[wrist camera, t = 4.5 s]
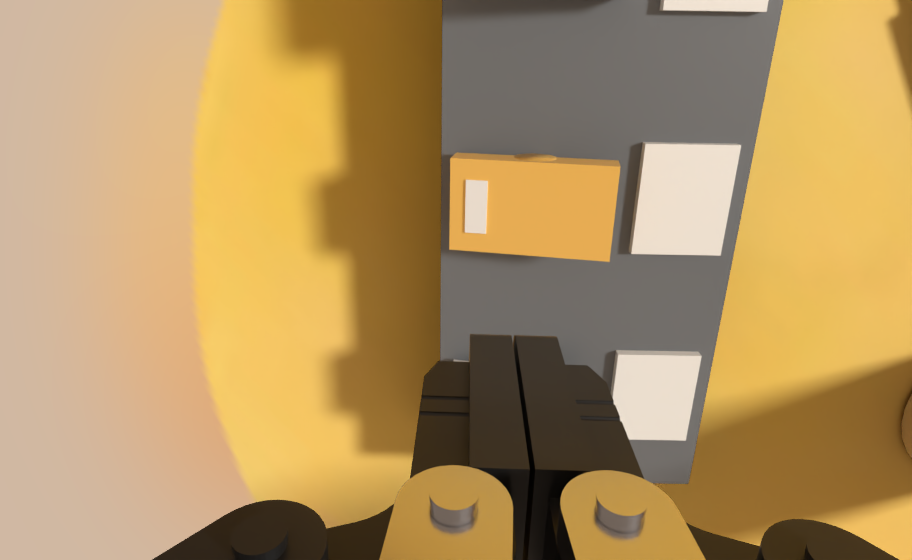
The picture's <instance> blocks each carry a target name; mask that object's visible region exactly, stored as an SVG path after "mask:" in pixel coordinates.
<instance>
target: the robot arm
mask: <svg viewBox="0 0 912 560" xmlns="http://www.w3.org/2000/svg"><path fill="white" fill-rule="evenodd" d="M902 439H903V442H904V445H905V448H906V451H907V453H908V454H909V455H910V457H911V458H912V394H911V397H910V399H909V401H908V403H907V405H906V407H905V410H904V415H903V419H902ZM153 560H899V559H897V558H895V557H893V556H892V555H890V554H888V553H886V552H885V551H883V550H881V549H879V548H878V547H876V546H874V545H872V544H871V543H869V542H867V541H865V540H864V539H862V538H860V537H858V536H856V535H854V534H852V533H850V532H848V531H846V530H843V529H841V528H838V527H836V526H832V525H829V524H826V523H822V522H818V521H812V520H804V519H792V520H785V521H781V522H778V523H776V524H774V525H772V526H771V527H769V528H768V530H767V531H766V532H765V533H764V536H763V538H762V541H761V545H760V546H756V545H752V544H749V543H745V542H741V541H738V540H734V539H730V538H727V537H723V536H719V535H716V534H712V533H709V532H706V531H703V530H701V529H698V528H696V527H694V526H691V525H689V524H687V523H686V522H685V520H684V519H683V517H682V515H681V513H680V511H679V509H678V508H677V506H676V505H675V503H674V502H673V500H672V499H671V498H670V497H669V496H668V495H667V494H666V493H665V492H664V491H662V490H661V489H660V488H659V487H657V486H656V485H654V484H652V483H651V482H649V481H647V480H645V479H644V477H643V474H642V472H641V469H640V467H639V464H638V462H637V459H636V457H635V454H634V451H633V449H632V446H631V444H630V441H629V439H628V436H627V434H626V431H625V429H624V426H623V423H622V421H620V416H619V413H618V411H617V408H616V406H615V405H614V400H613V398H612V395H611V393H610V390H609V388H608V385H607V383H606V381H605V380H603V379H602V378H601V377H600V376H599V375H598V374H597V373H596V372H594V371H593V370H592V369H591V368H590V367H589V366H588V365H565V362H564V359H563V355H562V352H561V348H560V345H559V341H558V338H557V337H556V336H530V335H514V339H513V342H512V336H511V335H491V334H470V344H469V362H457V361H438V362H437V363H436V364H435V366H434V367H433V368H432V369H431V370H430V371H429V372H428V373H427V374H426V375H425V376H424V382H423V389H422V399H421V404H420V411H419V418H418V425H417V433H416V440H415V447H414V454H413V461H412V469H411V476H410V479H409V480H408V481H407V482H406V483H405V484H404V485H403V486H402V488H401V489H400V491H399V492H398V495H397V497H396V500H395V503H394V504H393V505H392V506H390V507H389V508H388V509H386V510H385V511H383V512H381V513H379V514H378V515H375V516H373V517H371V518H368V519H365V520H362V521H358V522H355V523H350V524H346V525H341V526H337V527H332V528H328V529H326V527H325V525H324V522H323V521H322V519H321V518H320V516H319V515H318V514H317V513H316V512H315V511H314V510H312V509H310V508H309V507H307V506H305V505H302V504H300V503H297V502H292V501H286V500H267V501H261V502H256V503H252V504H249V505H246V506H243V507H241V508H238V509H236V510H234V511H232V512H230V513H228V514H226V515H225V516H223V517H221V518H220V519H218V520H216V521H215V522H213V523H212V524H210V525H208V526H207V527H205V528H203V529H202V530H200V531H199V532H197V533H195V534H193V535H192V536H190V537H189V538H187V539H185V540H184V541H182V542H180V543H179V544H177V545H175V546H174V547H172V548H171V549H169V550H167V551H166V552H164V553H162V554H161V555H159V556H158V557H156V558H154V559H153Z"/></svg>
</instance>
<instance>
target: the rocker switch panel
mask: <svg viewBox="0 0 912 560" xmlns="http://www.w3.org/2000/svg"><path fill="white" fill-rule="evenodd" d="M782 5H783V0H442V163H441V334H440V361H453V360H454V359H455V360H463V361H469V344H470V334H491V335H511V336H512V342H513V339H514V335H530V336H556V337H557V338H558V341H559V345H560V348H561V352H562V355H563V359H564V362H565V365H588V366H589V367H590V368H591V369H592V370H593V371H594V372H596V373H597V374H598V375H599V376H600V377H601V378H602V379H603V380H605V381H606V383H607V385H608V388H609V390H610V393H611V395H612V398H613V400H614V405H615V406H616V408H617V411H618V413H619V416H620V421H622V423H623V426H624V429H625V431H626V434H627V436H628V439H629V441H630V444H631V446H632V449H633V451H634V454H635V457H636V459H637V462H638V464H639V467H640V469H641V472H642V474H643V477H644V479H645V480H647V481H649V482H651V483H667V484H688V483H689V478H690V473H691V468H692V463H693V458H694V453H695V448H696V443H697V437H698V432H699V427H700V422H701V417H702V412H703V407H704V402H705V397H706V392H707V387H708V382H709V376H710V371H711V366H712V361H713V356H714V351H715V346H716V341H717V336H718V331H719V326H720V320H721V315H722V310H723V305H724V300H725V295H726V290H727V285H728V280H729V275H730V270H731V265H732V259H733V254H734V249H735V244H736V239H737V234H738V229H739V224H740V219H741V214H742V209H743V203H744V198H745V193H746V188H747V183H748V178H749V173H750V168H751V163H752V158H753V153H754V147H755V142H756V137H757V132H758V127H759V122H760V117H761V112H762V107H763V102H764V97H765V92H766V86H767V81H768V76H769V71H770V66H771V61H772V56H773V51H774V46H775V41H776V36H777V30H778V25H779V20H780V15H781V10H782ZM457 152H458V153H478V154H498V155H518V154H528V153H535V154H547V155H552V156H555V157H560V158H580V159H600V160H619V163H620V176H619V184H618V193H617V201H616V210H615V219H614V227H613V236H612V244H611V253H610V262H605V261H592V260H579V259H566V258H553V257H540V256H527V255H514V254H501V253H488V252H475V251H462V250H449V233H450V158H451V157H452V156H453V155H454V154H455V153H457Z"/></svg>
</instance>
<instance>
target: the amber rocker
mask: <svg viewBox="0 0 912 560" xmlns="http://www.w3.org/2000/svg"><path fill="white" fill-rule="evenodd" d="M619 176H620V163H619V160H600V159H580V158H560V157H555V156H552V155H547V154H535V153H528V154H518V155H498V154H478V153H458V152H457V153H455V154H454V155H453V156H452V157H451V158H450V233H449V250H462V251H475V252H488V253H501V254H514V255H527V256H540V257H553V258H566V259H579V260H592V261H605V262H610V253H611V244H612V236H613V227H614V219H615V210H616V201H617V193H618V184H619Z"/></svg>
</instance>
